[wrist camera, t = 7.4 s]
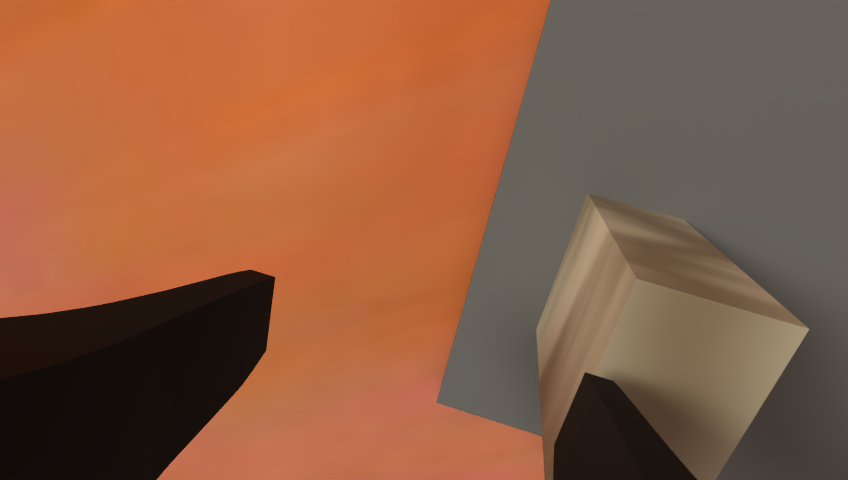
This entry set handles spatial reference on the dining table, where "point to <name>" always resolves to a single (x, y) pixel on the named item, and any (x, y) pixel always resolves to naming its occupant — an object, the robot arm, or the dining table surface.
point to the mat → (680, 194)
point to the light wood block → (661, 332)
